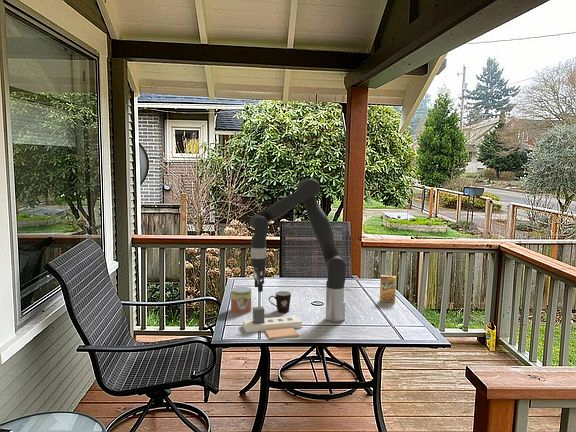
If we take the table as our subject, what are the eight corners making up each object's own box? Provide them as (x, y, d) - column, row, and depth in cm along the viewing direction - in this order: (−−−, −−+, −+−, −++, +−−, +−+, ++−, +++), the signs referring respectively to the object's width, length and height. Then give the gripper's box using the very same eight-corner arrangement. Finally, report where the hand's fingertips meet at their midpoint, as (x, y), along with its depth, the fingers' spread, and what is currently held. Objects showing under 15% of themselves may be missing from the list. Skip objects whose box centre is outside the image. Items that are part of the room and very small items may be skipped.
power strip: (296, 321, 230) (296, 315, 230) (302, 327, 222) (302, 321, 221) (242, 325, 223) (242, 319, 223) (246, 332, 214) (245, 326, 214)
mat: (292, 328, 219) (292, 327, 219) (298, 336, 210) (298, 334, 210) (264, 331, 216) (264, 329, 216) (269, 339, 206) (269, 337, 206)
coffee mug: (292, 309, 249) (292, 291, 248) (288, 314, 241) (288, 296, 240) (272, 307, 253) (272, 290, 251) (268, 312, 244) (268, 294, 243)
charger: (262, 326, 223) (262, 306, 222) (264, 328, 219) (264, 309, 218) (252, 326, 222) (252, 307, 221) (254, 329, 218) (254, 309, 217)
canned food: (232, 315, 239) (232, 293, 238) (229, 308, 250) (229, 287, 249) (253, 313, 242) (253, 291, 241) (249, 306, 253) (249, 286, 252)
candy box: (379, 301, 265) (380, 276, 264) (380, 299, 269) (381, 274, 268) (394, 303, 263) (395, 277, 261) (395, 301, 267) (396, 275, 265)
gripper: (269, 259, 211) (269, 292, 212) (263, 253, 224) (263, 285, 226) (253, 259, 209) (253, 293, 211) (248, 254, 222) (248, 286, 224)
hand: (258, 289), depth 218 cm, fingers open, 8 cm apart
